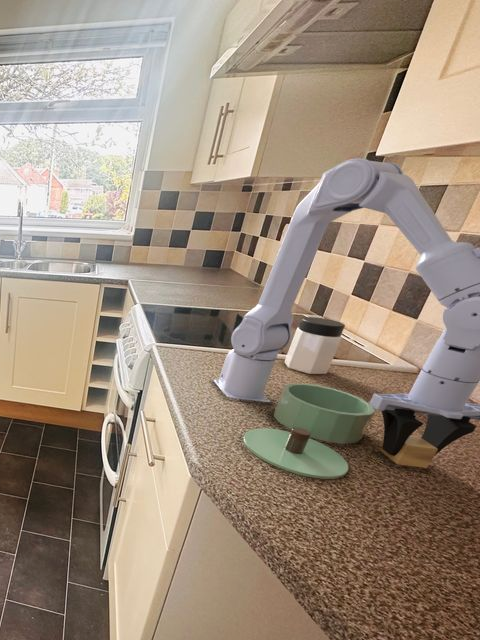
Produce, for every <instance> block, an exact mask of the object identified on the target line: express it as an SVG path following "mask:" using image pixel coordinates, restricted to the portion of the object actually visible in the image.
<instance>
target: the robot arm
mask: <svg viewBox="0 0 480 640" xmlns="http://www.w3.org/2000/svg"><path fill="white" fill-rule="evenodd" d="M361 209H368V210H371V211H375V212H379V213H383V214H386V215H387V216H388V218H389V219H390V220H391V221H392V222H393V224H394V225H395V226H396V227H397V228H398V229H399V231H400V232H401V233H402V234H403V236H404V237H405V238H406V239H407V240H408V242H409V243H410V244H411V246H412V247H413V248H414V249H415V250H416V251H417V253H418V254H419V255H420V257H419V259H418V261H417V264H416V266H415V270H416V272H418V274H419V276H420V277H421V278H422V280H423V282H424V283H425V284H426V286H427V287H428V288H429V290H430V291H431V292H432V294H433V295H434V297H435V298H436V300H437V301H438V302H439V304H440V305H441V306H443V307H445V308H444V310H443V313H442V322H443V324H444V326H445V327H444V329H443V331H442V333H441V334H440V336H439V338H438V339H437V340H436V342H435V344H434V346H433V347H432V349H431V351H430V353H429V355H428V357H427V359H426V360H425V363H424V365H423V366H422V368H421V370H420V372H419V374H418V375H417V377H416V380H415V381H414V383H413V385H412V387H411V389H410V391H409V392H408V393H373V394H372V397H371V398H370V401H369V402H368V403H369V405H370V406H372V407H373V408H374V410H375V411H380V412H381V415H382V420H383V440H382V445H383V446H382V445H381V447H382V449H383V450H384V451H386V452H387V453H388V454H390V455H393V456H395V455H396V454H397V453H398V452H399V451H400V450H401V448H402V447H403V445H404V444H405V442H406V440H407V439H408V438H409V436H410V435H413V433H414V432H416V431H417V430H418V429H419V428H420V427H422V426H423V425H424V423H423V422H422V421H420V420H419V419H417V418H416V417H417V415H415V414H421V415H422V414H423V415H427V420H426V424H425V427H424V430H423V433H422V435H421V438H422V439H424V440H425V441H427V442H428V443H430V444H431V445H433V446H434V447H436V448H437V449H438V450H437V452H436V454H435V455H434V457H435V456H436V455H437V454H438V453H440V452H441V451H443V450H444V448H446V447H447V446H449V445H451V444H452V443H453V442H454V441H457V440H459V439H460V438H462V437H465V436H467V435H469V434H471V433H474V432H475V430H476V429H477V426H476V424H474V423H473V422H470V420H474V421H475V420H476V421H480V404H476V403H475V404H474V403H471V402H468V401H469V399H470V397H471V396H472V394H473V392H474V391H475V389H476V388H477V386H478V385H479V383H480V247H476V248H475V246H474V245H473V244H472V243H470V242H465V241H464V242H461V241H454V240H452V238H451V237H450V235H449V233H448V232H447V230H446V228H444V226H443V225H442V223H441V222H440V220H439V219H438V217H437V215H436V214H435V212H434V211H433V209H432V207H431V206H430V205H429V203H428V202H427V200H426V199H425V197H424V196H423V194H422V192H421V191H420V189H419V188H418V186H417V185H416V183H415V181H414V180H413V178H411V177H410V176H409V175H408V174H404V171H403V169H402V168H401V166H399V165H398V164H397V163H394V162H389V161H376V160H374V161H373V160H369V159H367V158H362V157H355V158H351V159H347V160H344V161H343V162H341V163H339V164H337V165H335V166H334V167H332V168H330V169H328V170H326V171H325V172H323V173H322V176H321V178H320V181H319V182H318V184H317V185H316V186H315V187H314V188H313V189H312V190H311V191H310V192H309V193H308V194H307V195H306V196H305V197H304V198H303V199H302V200H301V201H300V203H298V205H297V206H296V208H295V209H294V212H293V215H292V217H291V220H290V222H289V225H288V227H287V229H286V232H285V233H284V237H283V240H282V243H281V245H280V247H279V250H278V252H277V254H276V258H275V260H274V262H273V265H272V268H271V270H270V273H269V275H268V278H267V280H266V283H265V285H264V287H263V289H262V290H263V291H262V293H261V296H260V298H259V300H258V303H257V304H256V305H255V306H254V307H252V309H250V311H248V312H247V313H245V315H244V316H243V318H242V320H241V322H240V323H239V325H237V327H236V328H235V329H234V330H233V331H232V334H231V337H230V342H231V346H232V348H233V349H231V350H230V351H229V352H228V353H227V354H226V356H225V359H224V361H223V365H222V368H221V371H220V374H219V377H218V379H213V383H214V384H215V385H216V386H217V387H218V389H219V390H220V391H221V393H222V394H225V396H227V398H231V399H239V400H246V401H248V400H249V401H255V402H265V403H271V400H270V399H269V398H268V397H267V396H266V395H265V390H266V388H267V385H268V382H269V380H270V377H271V374H272V373H273V372H272V371H273V369H274V366H275V363H276V361H277V358H278V355H279V352H280V351H281V350H283V349H285V348H286V347H288V345H289V344H290V342H291V341H292V325H293V322H294V315H293V313H292V309H293V306H294V304H295V302H296V299H297V297H298V295H299V293H300V291H301V288H302V286H303V283H304V282H305V279H306V277H307V274H308V272H309V270H310V267H311V265H312V263H313V261H314V259H315V256H316V254H317V252H318V249H319V247H320V244H321V242H322V240H323V237H324V235H325V233H326V231H327V229H328V226H329V224H330V223H332V222H334V221H335V220H337V219H339V218H342V217H343V216H345V215H347V214H350V213H352V212H354V211H356V210H361Z"/></svg>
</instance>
